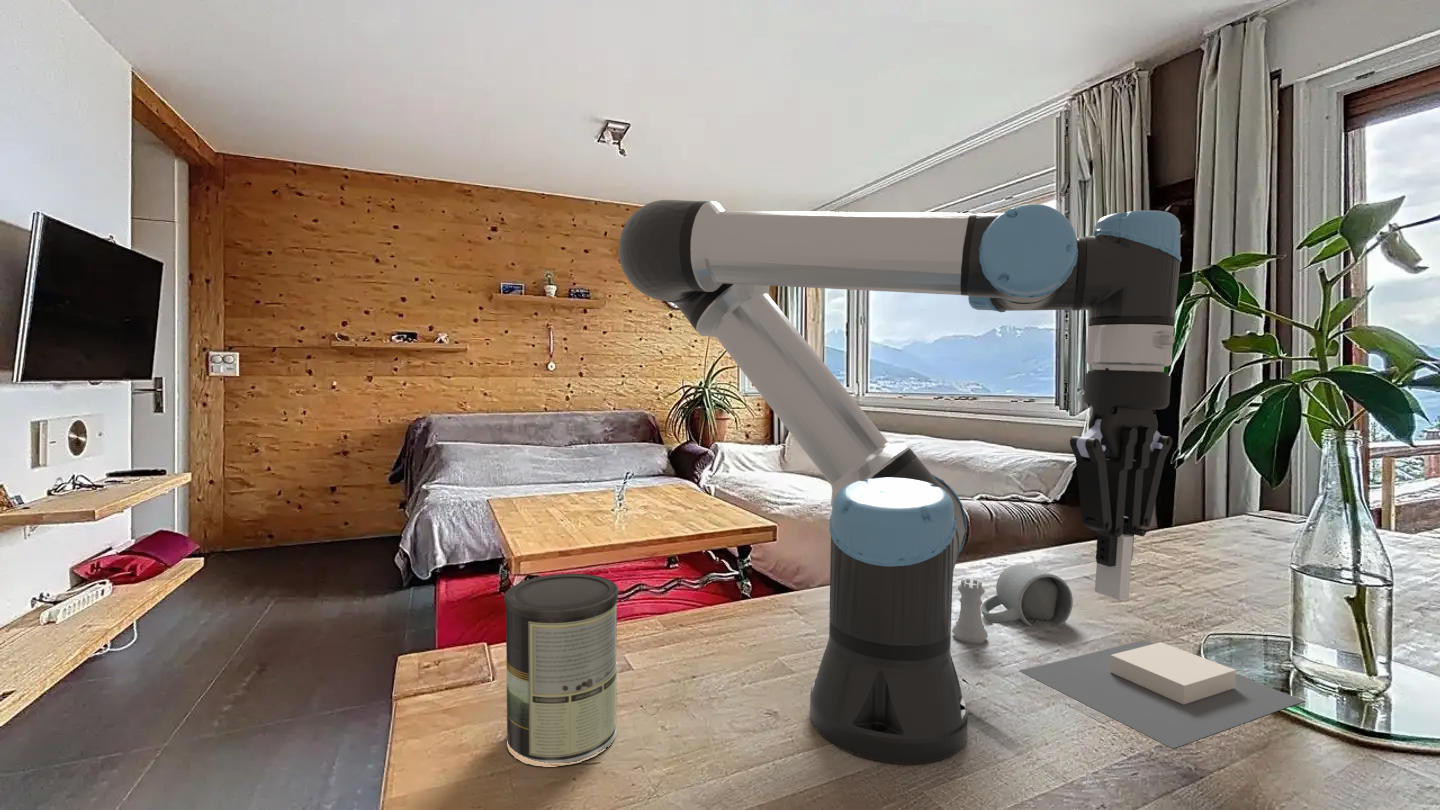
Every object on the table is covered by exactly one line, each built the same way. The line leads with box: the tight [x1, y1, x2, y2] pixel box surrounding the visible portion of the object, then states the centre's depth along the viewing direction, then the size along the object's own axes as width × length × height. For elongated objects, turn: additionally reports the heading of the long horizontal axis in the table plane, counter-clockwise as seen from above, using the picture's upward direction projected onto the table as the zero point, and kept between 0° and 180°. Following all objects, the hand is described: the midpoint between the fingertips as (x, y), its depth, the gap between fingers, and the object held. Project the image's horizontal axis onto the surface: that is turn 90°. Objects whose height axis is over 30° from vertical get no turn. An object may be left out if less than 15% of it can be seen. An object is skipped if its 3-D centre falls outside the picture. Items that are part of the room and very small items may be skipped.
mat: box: [1019, 639, 1305, 750], centre depth 73 cm, size 22×17×1 cm
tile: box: [1110, 641, 1237, 705], centre depth 74 cm, size 2×8×9 cm
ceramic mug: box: [981, 564, 1074, 626], centre depth 94 cm, size 11×8×8 cm
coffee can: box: [504, 573, 619, 763], centre depth 63 cm, size 10×10×14 cm
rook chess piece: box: [951, 578, 989, 645], centre depth 86 cm, size 4×4×8 cm
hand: (1111, 594), depth 70 cm, fingers closed
